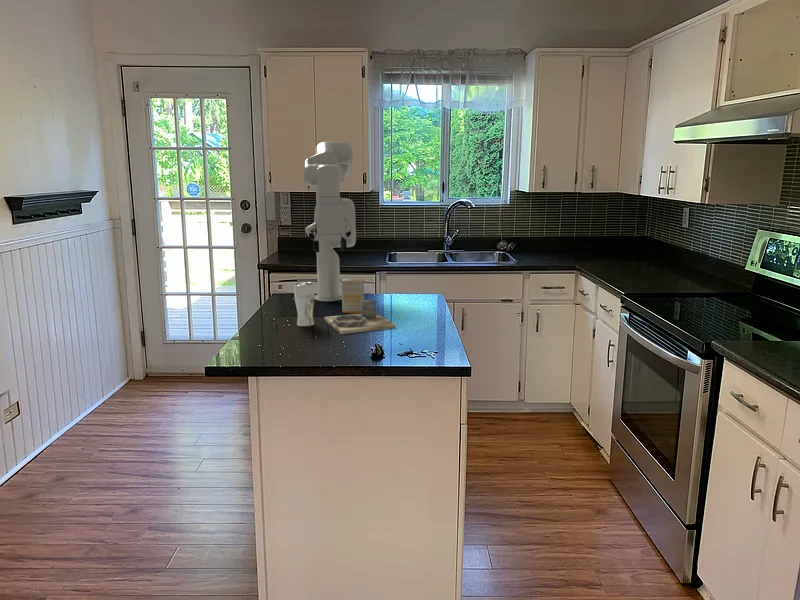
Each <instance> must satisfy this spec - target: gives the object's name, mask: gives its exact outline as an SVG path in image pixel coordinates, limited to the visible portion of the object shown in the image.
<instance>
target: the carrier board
mask: <svg viewBox="0 0 800 600" xmlns="http://www.w3.org/2000/svg"><path fill="white" fill-rule="evenodd" d="M376 302H377V301H376V300H373V299H367V300H365V299H364V301H362V313H348V314H341V315H330V316H324V321H325V322H326V323H327V324H328V325H330V326H331V328H332V327H333V329H334V330H336V331H337V332H339V334H341V335H345V334H346V335H347V334H355V333H364V332H371V331H373V332H374V331H382V330H389V329H396V323H394V322H392V321H390V320H389V319H387V318H385V317H384V316H382V315H380V314H379V313H378V312H377V303H376Z"/></svg>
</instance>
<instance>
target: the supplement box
mask: <svg viewBox="0 0 800 600" xmlns="http://www.w3.org/2000/svg"><path fill="white" fill-rule="evenodd" d="M364 283H365V281H364V277H363V278H361V277H360V278H359V277H356V278H355V277H353V278H351V277H346V278H345V277H343V278H342V279H340V286H341V294H342V300H341V311H342V312H341V313H342V314H344V313H345V314H346V313H347V314H359V313H362V301H365V286H364V285H365V284H364Z"/></svg>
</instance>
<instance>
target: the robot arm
mask: <svg viewBox="0 0 800 600" xmlns="http://www.w3.org/2000/svg"><path fill="white" fill-rule="evenodd" d="M353 156H354V153H353V148H352V146H351V145H350V143H348V142H346V141H322V142H319V143H318V144H317V146H315V150H314V155H312V156H310V157H308V158H306V159H305V160H304V162H303V167H302V169H303V170H302V176H303V177H302V179H303V181H304V184H305V185H306V186H308V187H315V195H316V196H315V198H316V201H315V202H316V203H315V204H316V205H315V206H314V214H313V215H314V217H313V223H312V224H310V225H308V226H307V227H305V228H304V230H305V232H306V234H307V236H308V237H309V238H310V240H312V249H313V251H314V252H315V253H316V274H317V277H316V278H317V280H316V281H317V294H314V301H318V302H338V301H342V293H341V274H340V269H341V268H340V256H339V255H338V253H337V252H336V251H335V250H334V248H340V251H343V252H346V250H347V248H352V247H354V246H355V245H356V242H357V230H356V229H357V228H356V224H357V223H356V207H355V204H354V201H353V200H352V199H350V198H344V197H341V196H340V195H341V193H340V190H341V189H340V186H341V185H342V183H343V182H344V180H345V176H349V175H350V174H351V173H352V170H353V159H354V157H353ZM312 230H313V233H312V232H311V231H312Z"/></svg>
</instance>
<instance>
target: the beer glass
mask: <svg viewBox="0 0 800 600" xmlns="http://www.w3.org/2000/svg"><path fill="white" fill-rule="evenodd" d="M314 286H315V285H314V283H313V282H312V281H311V282H310V281H299V282H295V283H294V303H295V307H296V312H297V319H296V325H297V326H298V327H306V328H307V327H312V326H314V325H315V321H314V316H313V315H314V313H313V311H314V306H315V305H314V304H315V299H314V296H315V287H314Z"/></svg>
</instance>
